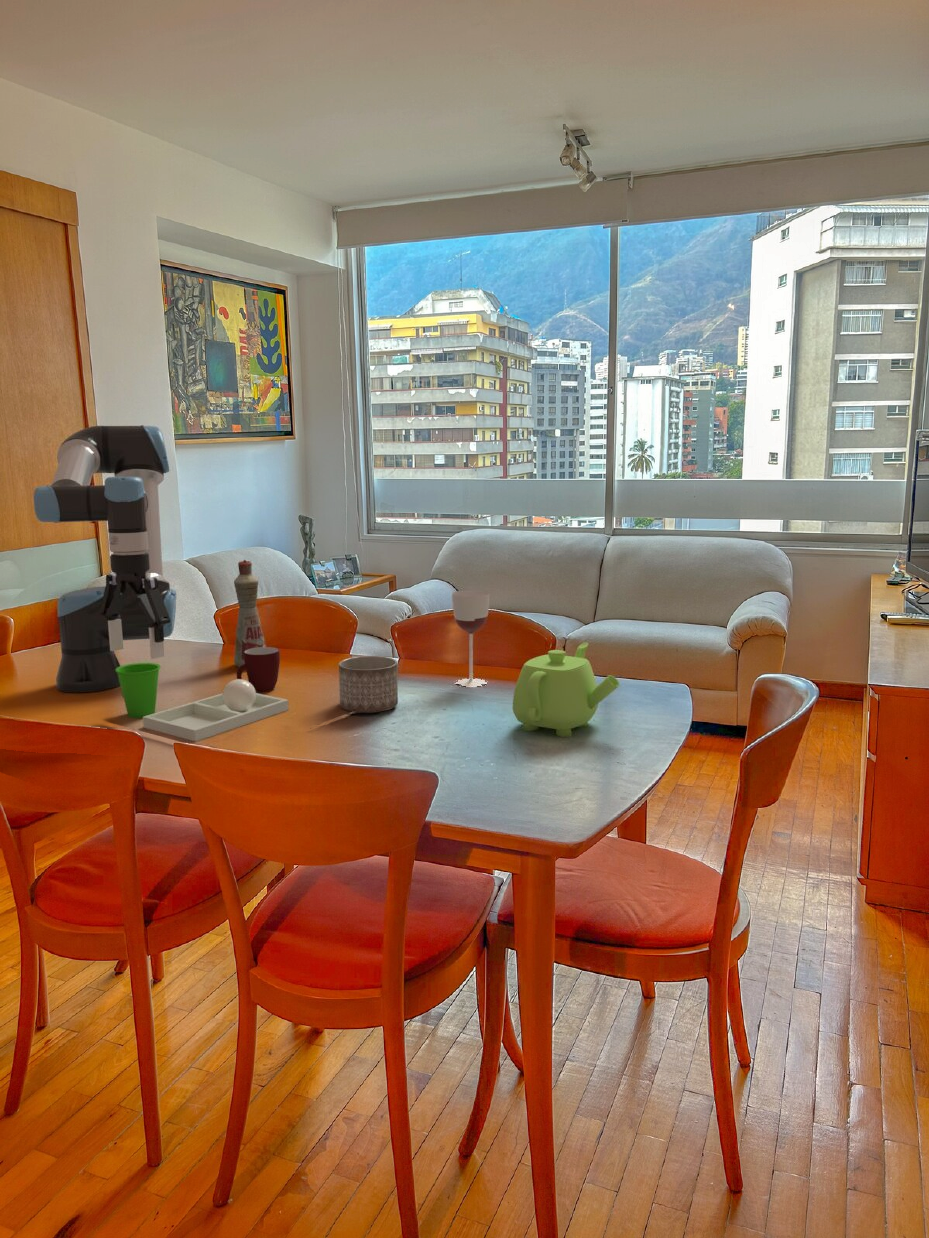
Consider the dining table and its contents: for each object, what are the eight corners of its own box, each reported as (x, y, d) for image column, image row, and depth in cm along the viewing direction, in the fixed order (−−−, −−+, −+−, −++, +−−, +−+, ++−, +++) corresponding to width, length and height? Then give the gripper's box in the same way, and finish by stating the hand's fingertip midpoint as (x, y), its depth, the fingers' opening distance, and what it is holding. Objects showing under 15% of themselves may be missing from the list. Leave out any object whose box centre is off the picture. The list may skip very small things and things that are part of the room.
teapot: (594, 753, 169) (597, 671, 165) (495, 734, 180) (495, 657, 177) (643, 718, 189) (646, 645, 186) (551, 703, 201) (552, 634, 197)
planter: (373, 697, 206) (372, 653, 204) (409, 708, 198) (409, 662, 196) (328, 708, 198) (326, 662, 196) (364, 720, 189) (363, 672, 187)
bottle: (252, 659, 242) (247, 556, 237) (275, 664, 237) (271, 559, 232) (227, 666, 235) (221, 560, 230) (250, 671, 230) (244, 562, 225)
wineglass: (446, 685, 215) (446, 595, 211) (461, 676, 224) (461, 589, 220) (480, 689, 212) (480, 597, 208) (494, 679, 221) (495, 591, 217)
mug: (251, 701, 203) (249, 658, 201) (230, 695, 208) (227, 653, 206) (288, 691, 211) (286, 650, 209) (266, 685, 216) (264, 645, 214)
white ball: (216, 712, 192) (214, 680, 191) (241, 704, 198) (239, 673, 196) (238, 717, 188) (237, 685, 187) (263, 709, 194) (262, 678, 193)
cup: (173, 714, 194) (169, 664, 191) (142, 726, 185) (138, 674, 183) (141, 709, 197) (137, 660, 195) (109, 720, 189) (105, 670, 187)
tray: (143, 730, 182) (142, 716, 182) (237, 701, 203) (237, 688, 202) (196, 745, 174) (195, 730, 173) (288, 713, 194) (288, 699, 193)
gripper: (76, 551, 188) (85, 649, 192) (152, 558, 175) (160, 664, 178) (108, 547, 194) (115, 643, 198) (184, 554, 181) (190, 657, 185)
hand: (136, 653), depth 188 cm, fingers open, 13 cm apart
